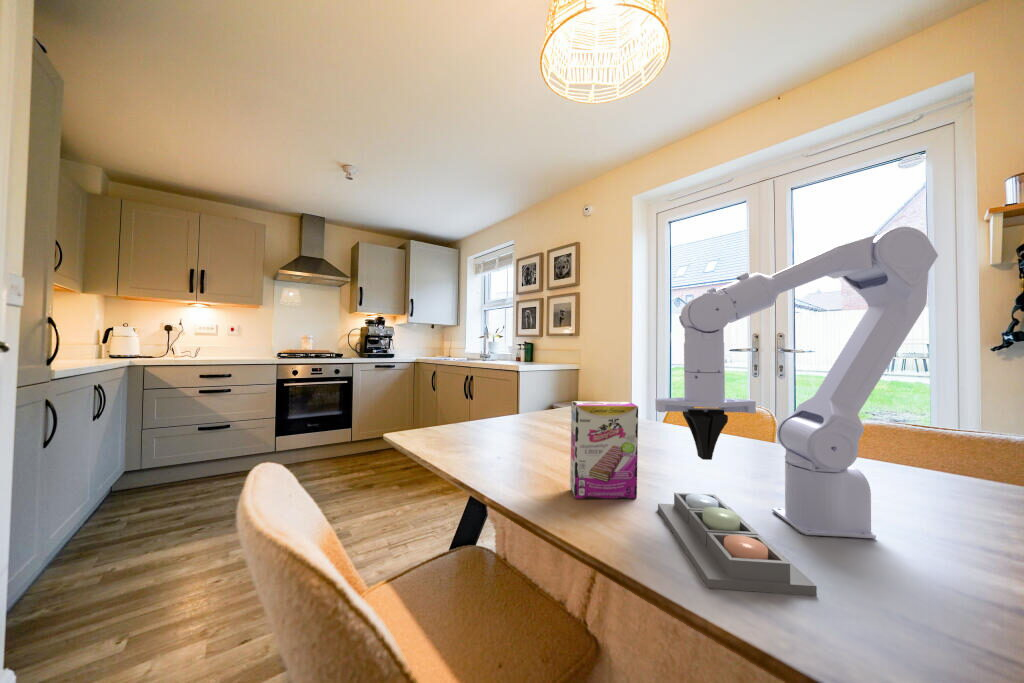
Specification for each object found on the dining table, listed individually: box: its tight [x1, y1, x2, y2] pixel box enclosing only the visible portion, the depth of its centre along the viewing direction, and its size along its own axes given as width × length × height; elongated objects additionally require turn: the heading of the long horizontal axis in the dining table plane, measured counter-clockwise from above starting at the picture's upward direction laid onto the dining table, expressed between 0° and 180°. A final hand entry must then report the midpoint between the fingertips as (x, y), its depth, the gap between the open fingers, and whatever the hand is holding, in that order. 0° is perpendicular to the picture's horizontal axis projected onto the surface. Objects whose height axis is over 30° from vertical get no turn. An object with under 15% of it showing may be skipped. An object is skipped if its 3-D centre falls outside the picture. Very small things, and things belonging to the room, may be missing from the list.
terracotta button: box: [724, 535, 768, 560], centre depth 44 cm, size 4×4×2 cm
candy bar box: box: [569, 400, 639, 499], centre depth 68 cm, size 11×5×16 cm, turn 92°
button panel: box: [657, 492, 818, 596], centre depth 51 cm, size 11×20×3 cm, turn 174°
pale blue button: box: [686, 493, 718, 509], centre depth 57 cm, size 4×4×2 cm
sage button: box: [703, 507, 741, 531], centre depth 51 cm, size 4×4×2 cm
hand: (704, 457), depth 60 cm, fingers closed
